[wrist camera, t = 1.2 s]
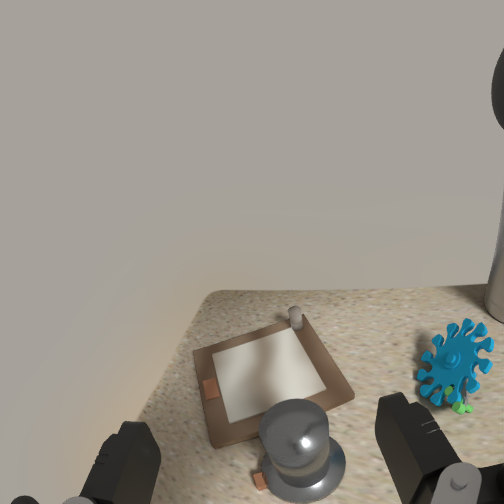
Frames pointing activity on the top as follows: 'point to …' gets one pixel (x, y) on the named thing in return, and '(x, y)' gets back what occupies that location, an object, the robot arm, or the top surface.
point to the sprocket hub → (299, 453)
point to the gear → (456, 365)
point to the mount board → (265, 377)
